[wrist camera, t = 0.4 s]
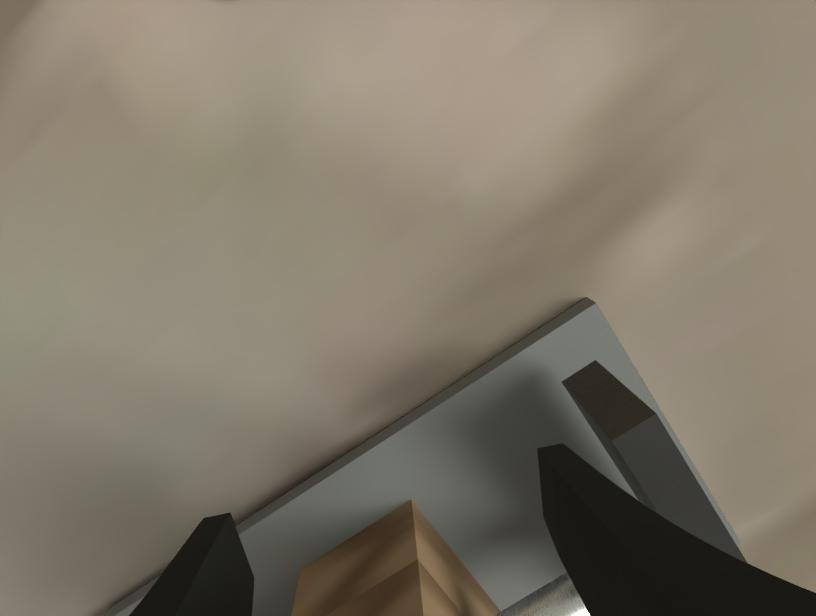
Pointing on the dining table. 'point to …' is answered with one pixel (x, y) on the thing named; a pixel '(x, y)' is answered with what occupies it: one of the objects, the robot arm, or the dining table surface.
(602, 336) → the mat
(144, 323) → the dining table surface
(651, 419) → the grey and silver t-piece
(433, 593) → the bearing block
